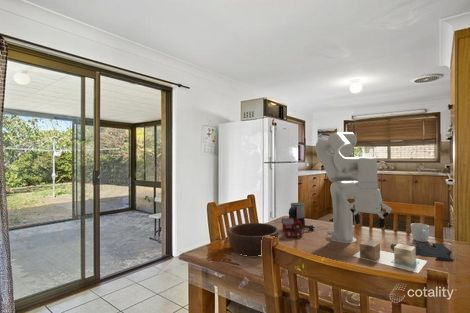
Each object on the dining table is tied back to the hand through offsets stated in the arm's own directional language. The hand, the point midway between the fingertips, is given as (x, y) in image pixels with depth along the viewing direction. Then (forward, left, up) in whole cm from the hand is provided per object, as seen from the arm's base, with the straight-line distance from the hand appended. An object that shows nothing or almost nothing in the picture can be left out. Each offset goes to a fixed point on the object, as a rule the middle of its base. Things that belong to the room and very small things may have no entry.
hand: (369, 225), depth 110 cm
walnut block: (0, 0, -14) cm, 14 cm away
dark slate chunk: (+13, +22, -15) cm, 30 cm away
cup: (+10, +42, -15) cm, 45 cm away
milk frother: (-49, +24, -15) cm, 56 cm away
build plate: (+6, +4, -15) cm, 16 cm away
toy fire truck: (-43, +6, -15) cm, 46 cm away
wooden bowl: (-45, -25, -15) cm, 54 cm away
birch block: (+12, +4, -14) cm, 18 cm away
